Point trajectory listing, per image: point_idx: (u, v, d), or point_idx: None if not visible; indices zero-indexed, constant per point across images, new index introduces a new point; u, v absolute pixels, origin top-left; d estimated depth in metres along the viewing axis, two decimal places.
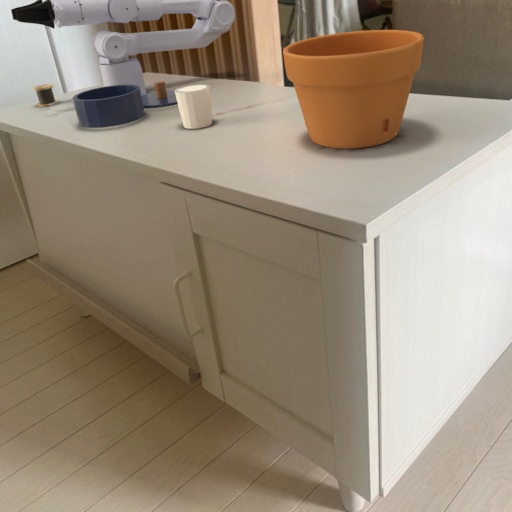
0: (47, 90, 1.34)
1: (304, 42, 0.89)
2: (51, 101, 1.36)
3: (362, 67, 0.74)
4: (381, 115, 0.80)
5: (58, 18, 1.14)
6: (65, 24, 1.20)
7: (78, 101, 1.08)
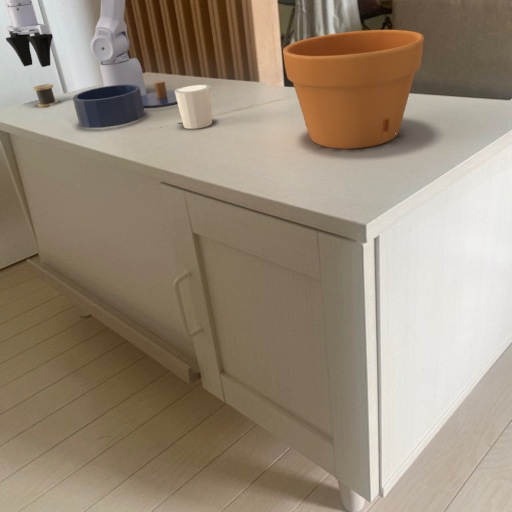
0: (47, 90, 1.34)
1: (304, 42, 0.89)
2: (51, 101, 1.36)
3: (362, 67, 0.74)
4: (381, 115, 0.80)
5: (48, 31, 1.25)
6: (36, 20, 1.28)
7: (78, 101, 1.08)
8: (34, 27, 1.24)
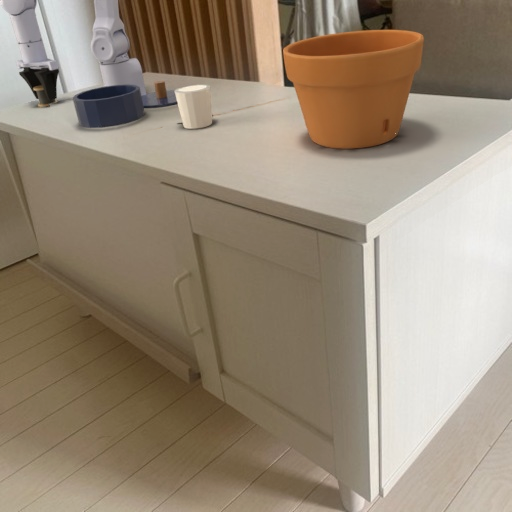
0: None
1: (304, 42, 0.89)
2: (51, 101, 1.36)
3: (362, 67, 0.74)
4: (381, 115, 0.80)
5: (57, 66, 1.29)
6: (46, 55, 1.32)
7: (78, 101, 1.08)
8: (44, 63, 1.28)
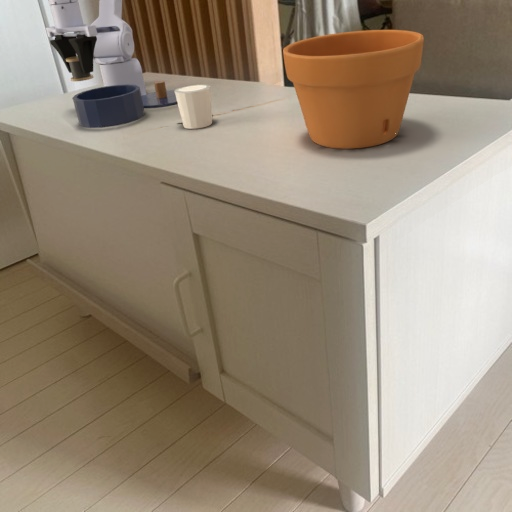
0: None
1: (304, 42, 0.89)
2: (86, 75, 1.16)
3: (362, 67, 0.74)
4: (381, 115, 0.80)
5: (96, 32, 1.09)
6: (82, 20, 1.12)
7: (78, 101, 1.08)
8: (81, 28, 1.08)
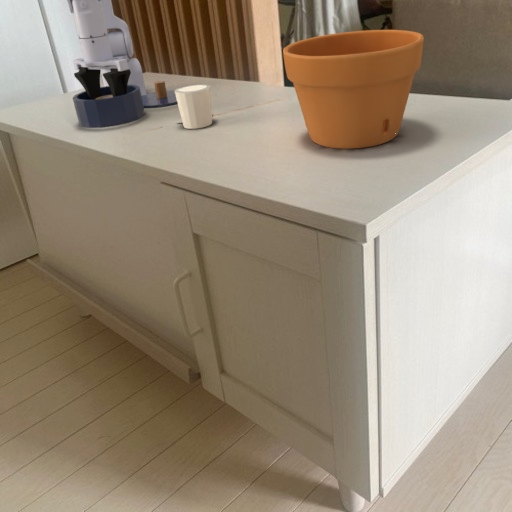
0: None
1: (304, 42, 0.89)
2: None
3: (362, 67, 0.74)
4: (381, 115, 0.80)
5: (127, 67, 1.06)
6: None
7: (78, 101, 1.08)
8: (112, 63, 1.05)
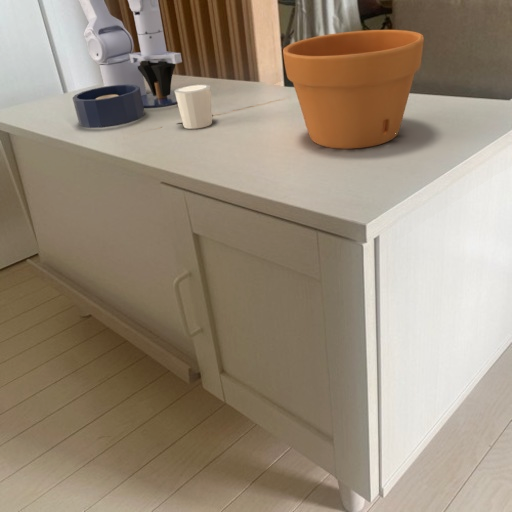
0: None
1: (304, 42, 0.89)
2: None
3: (362, 67, 0.74)
4: (381, 115, 0.80)
5: (181, 60, 1.18)
6: None
7: (78, 101, 1.08)
8: (167, 56, 1.17)
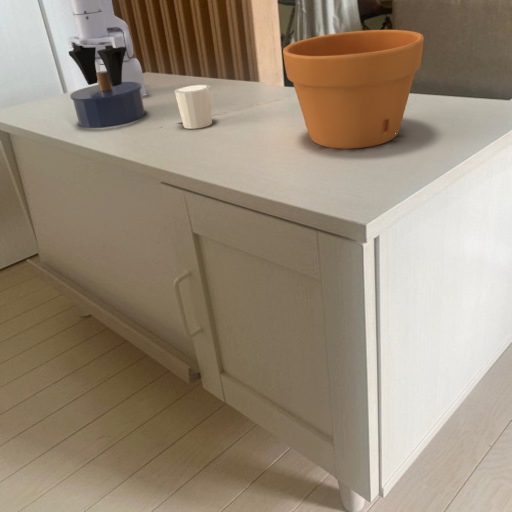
0: None
1: (304, 42, 0.89)
2: None
3: (362, 67, 0.74)
4: (381, 115, 0.80)
5: (122, 43, 1.04)
6: None
7: (78, 101, 1.08)
8: (106, 39, 1.03)
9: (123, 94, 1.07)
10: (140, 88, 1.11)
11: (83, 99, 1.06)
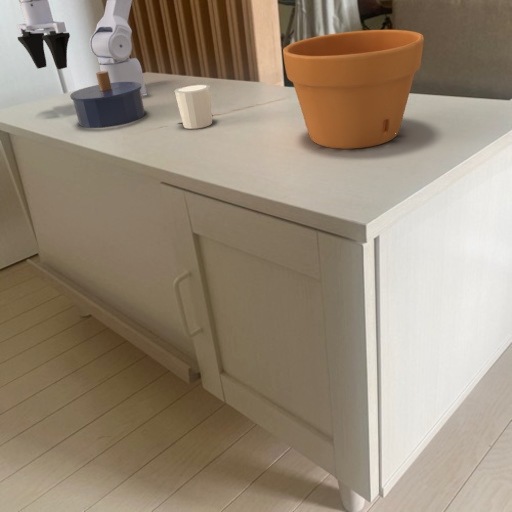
0: None
1: (304, 42, 0.89)
2: None
3: (362, 67, 0.74)
4: (381, 115, 0.80)
5: (65, 29, 1.13)
6: None
7: (78, 101, 1.08)
8: (50, 25, 1.12)
9: (123, 94, 1.07)
10: (140, 88, 1.11)
11: (83, 99, 1.06)
